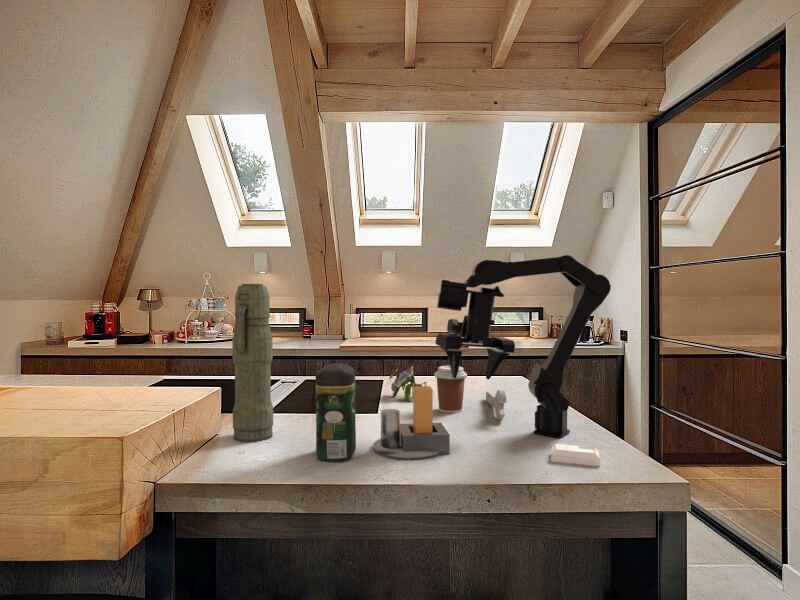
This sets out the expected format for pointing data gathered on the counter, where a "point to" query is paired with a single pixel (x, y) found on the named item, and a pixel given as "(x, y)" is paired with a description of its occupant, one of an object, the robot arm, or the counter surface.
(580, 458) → the soap bar
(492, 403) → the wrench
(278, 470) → the counter surface
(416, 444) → the desk organizer stand
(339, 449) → the coffee jar
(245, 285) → the thermos
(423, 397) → the wooden block
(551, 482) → the counter surface
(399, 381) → the passion flower
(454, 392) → the coffee cup
